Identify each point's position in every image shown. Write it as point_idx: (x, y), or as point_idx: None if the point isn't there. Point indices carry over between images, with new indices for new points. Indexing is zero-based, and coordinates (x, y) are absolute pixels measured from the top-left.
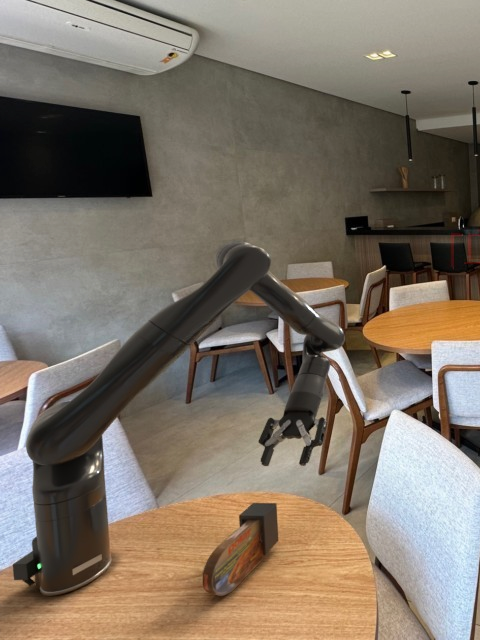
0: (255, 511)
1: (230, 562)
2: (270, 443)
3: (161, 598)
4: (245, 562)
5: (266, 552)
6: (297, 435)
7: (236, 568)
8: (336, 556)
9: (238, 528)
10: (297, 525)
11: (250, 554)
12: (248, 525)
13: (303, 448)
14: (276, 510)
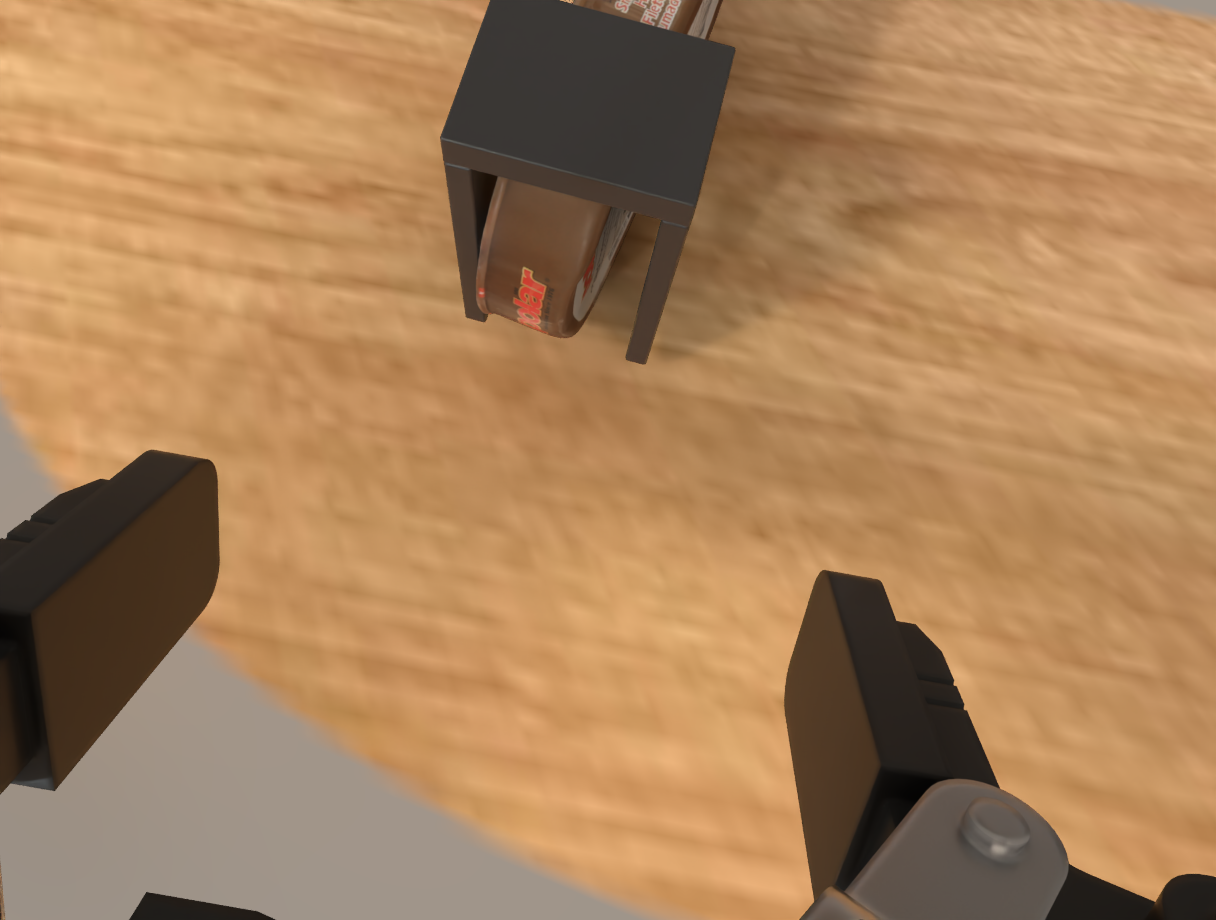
0: (604, 65)
1: None
2: (918, 823)
3: (967, 106)
4: None
5: None
6: (144, 912)
7: None
8: (58, 179)
9: (684, 5)
10: (392, 535)
11: None
12: (613, 8)
13: (57, 592)
14: (448, 176)
